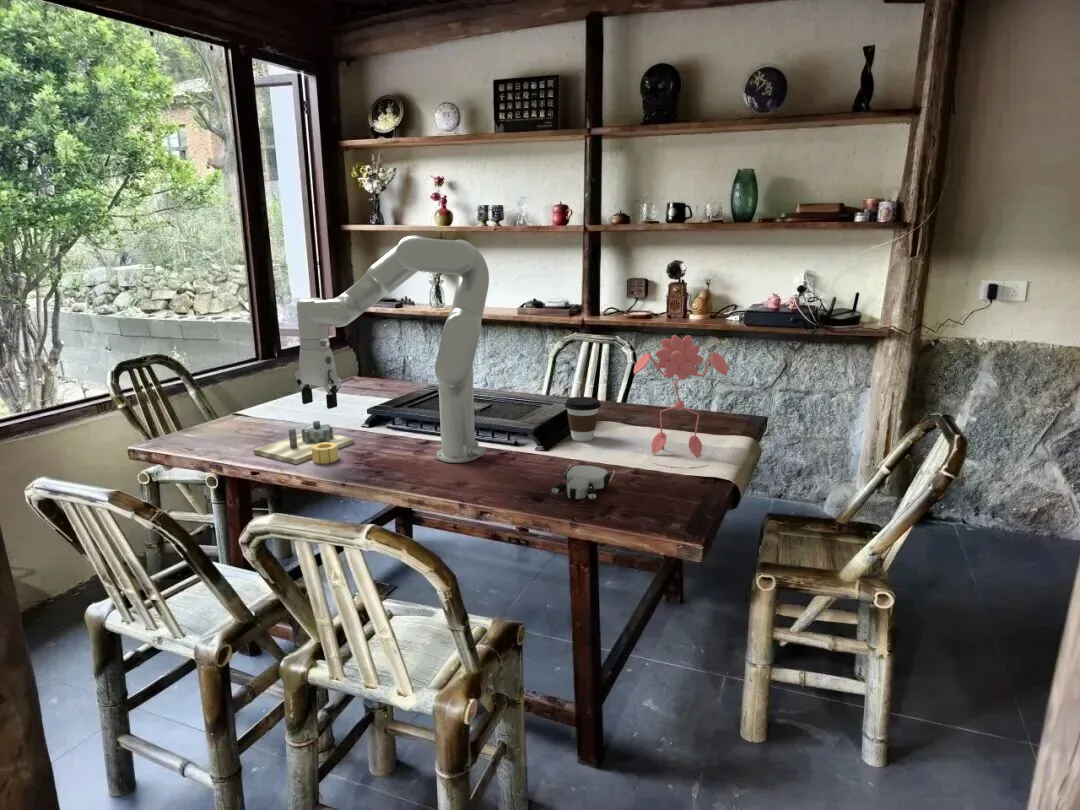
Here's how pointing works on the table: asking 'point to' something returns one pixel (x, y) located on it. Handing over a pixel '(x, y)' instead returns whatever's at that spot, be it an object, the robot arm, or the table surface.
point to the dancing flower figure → (680, 362)
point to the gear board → (302, 443)
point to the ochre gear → (324, 452)
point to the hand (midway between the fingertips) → (319, 405)
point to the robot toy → (583, 481)
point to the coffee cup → (582, 417)
